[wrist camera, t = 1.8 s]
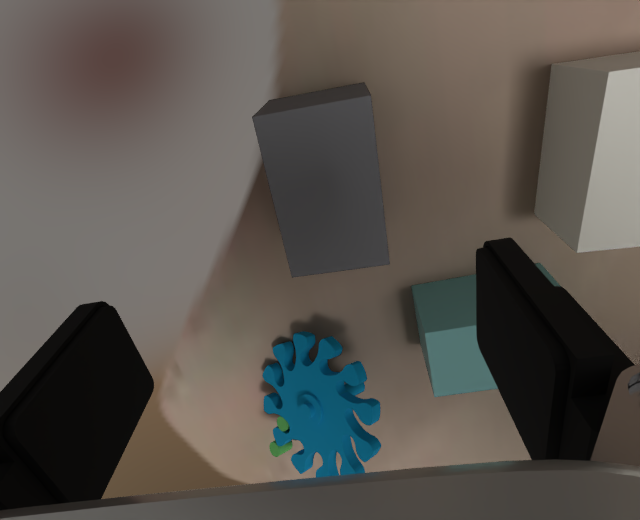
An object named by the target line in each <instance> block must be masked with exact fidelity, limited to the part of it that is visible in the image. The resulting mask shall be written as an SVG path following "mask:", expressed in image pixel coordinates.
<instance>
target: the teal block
mask: <svg viewBox="0 0 640 520" xmlns="http://www.w3.org/2000/svg"><path fill="white" fill-rule="evenodd" d="M535 265H536V266H537V267H538V268H539V269H540V271H541V272H542V273H543V274H544V275H545V276H546V277H547V278H548V280H549V281H550V282H551V283H552V284H553V285H554V286H560V285H559V284H558V283H557V281H556V280H555V279H554V278H553V277H552V276H551V275H550V274H549V272H548V271H547V270H546V269H545V268H544V267H543V266H542V264H541V263H536V264H535ZM560 287H561V286H560ZM411 288H412V294H413V300H414V306H415V313H416V319H417V325H418V331H419V338H420V344H421V348H422V352H423V355H424V359H425V363H426V367H427V371H428V374H429V378H430V382H431V386H432V390H433V393H434V397H439V396H447V395H454V394H462V393H469V392H476V391H484V390H491V389H498V387H497V385H496V383H495V381H494V379H493V377H492V375H491V373H490V370H489V368H488V366H487V364H486V362H485V360H484V358H483V356H482V354H481V352H480V349H479V346H478V342H477V335H476V274H474V275H469V276H463V277H457V278H452V279H446V280H441V281H435V282H429V283H424V284H418V285H412V286H411Z"/></svg>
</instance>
